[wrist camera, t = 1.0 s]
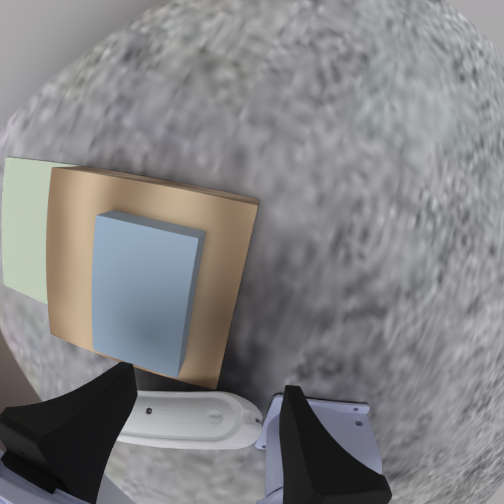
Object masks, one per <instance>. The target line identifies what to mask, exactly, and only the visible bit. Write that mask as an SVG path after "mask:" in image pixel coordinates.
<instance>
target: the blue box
mask: <svg viewBox="0 0 504 504" xmlns="http://www.w3.org/2000/svg"><path fill="white" fill-rule="evenodd" d="M205 235H206V231H204V230H200V229H196V228H191V227H187V226H182V225H178V224H173V223H169V222H164V221H160V220H155V219H151V218H146V217H142V216H137V215H133V214H128V213H124V212H119V211H114V210H111V211H108V212H104V213H101V214H98V215H96V220H95V231H94V244H93V261H92V337H93V350H95V351H98V352H100V353H103V354H105V355H108V356H111V357H114V358H116V359H119V360H122V361H125V362H128V363H131V364H134V365H137V366H140V367H143V368H146V369H149V370H153V371H156V372H159V373H162V374H166V375H169V376H173V377H176V378H178V375H179V373H180V370H181V368H182V365H183V363H184V361H185V355H186V348H187V341H188V334H189V327H190V321H191V315H192V308H193V302H194V296H195V290H196V284H197V279H198V273H199V267H200V262H201V256H202V251H203V245H204V240H205Z"/></svg>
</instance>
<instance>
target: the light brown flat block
mask: <svg viewBox="0 0 504 504" xmlns="http://www.w3.org/2000/svg"><path fill="white" fill-rule="evenodd" d="M258 204H259V199H255V198H250V197H246V196H241V195H237V194H232V193H228V192H223V191H218V190H214V189H209V188H204V187H199V186H194V185H189V184H184V183H179V182H174V181H168V180H163V179H158V178H152V177H147V176H141V175H135V174H129V173H123V172H117V171H111V170H105V169H98V168H92V167H85V166H70V167H52V170H51V178H50V186H49V196H48V209H47V226H46V283H47V301H48V313H49V323H50V332H51V334H52V335H54V336H56V337H59V338H61V339H63V340H65V341H68V342H70V343H72V344H75V345H77V346H80V347H82V348H84V349H87V350H89V351H92V352H94V353H97V354H100V355H102V356H105V357H108V358H110V359H113V360H116V361H119V362H122V360H119V359H116V358H114V357H111V356H108V355H105V354H103V353H100V352H98V351H95V350H93V337H92V261H93V244H94V231H95V220H96V215H98V214H101V213H104V212H108V211H111V210H114V211H119V212H124V213H128V214H133V215H137V216H142V217H146V218H151V219H155V220H160V221H164V222H169V223H173V224H178V225H182V226H187V227H191V228H196V229H200V230H204V231H206V235H205V240H204V245H203V251H202V256H201V262H200V267H199V273H198V279H197V284H196V290H195V296H194V302H193V308H192V315H191V321H190V327H189V334H188V341H187V348H186V355H185V361H184V363H183V365H182V368H181V370H180V373H179V375H178V378H176V377H173V376H169V375H166V374H162V373H159V372H156V371H153V370H149V369H146V368H143V367H140V366H137V365H134V364H133V367H136V368H139V369H142V370H145V371H149V372H152V373H155V374H158V375H162V376H165V377H168V378H172V379H176V380H179V381H183V382H187V383H190V384H194V385H198V386H202V387H206V388H211V389H215V390H216V388H217V383H218V379H219V375H220V370H221V366H222V361H223V357H224V353H225V348H226V344H227V339H228V335H229V330H230V326H231V322H232V317H233V313H234V309H235V304H236V300H237V295H238V291H239V287H240V282H241V278H242V274H243V269H244V265H245V260H246V256H247V252H248V247H249V243H250V239H251V234H252V230H253V226H254V221H255V217H256V213H257V209H258ZM123 362H125V361H123ZM127 363H128V362H127Z"/></svg>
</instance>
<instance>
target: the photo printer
mask: <svg viewBox="0 0 504 504" xmlns="http://www.w3.org/2000/svg"><path fill="white" fill-rule="evenodd" d="M137 392H138V396H137V399H136V402H135V404H134V407H133V410H132V412H131V414H130V416H129V418H128V419H127V421H126V423H125V425H124V427H123V429H122V431H121V432H120V434H119V436H118V438H117V441H122V442H126V443H132V444H139V445H146V446H153V447H163V448H178V449H240V448H244V447H247V446H249V445H251V444H253V443H254V442H255V441H256V440H257V439H258V438H259V437H260V435H261V433H262V431H263V427H262V425H261V424H260V422H261V421H262V418H263V417H262V414H261V412H260V411H259V409H258V408H257V407H256V406H255V405H254V404H252V403H251V402H250V401H248V400H246V399H244V398H242V397H240V396H238V395H236V394H233V393H228V392H220V391H211V392H166V391H142V390H137Z"/></svg>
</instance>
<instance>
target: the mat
mask: <svg viewBox="0 0 504 504" xmlns="http://www.w3.org/2000/svg"><path fill="white" fill-rule="evenodd" d="M70 166H78V165H71V164H64V163H56V162H48V161H40V160H31V159H22V158H13V157H6V161H5V170H4V180H3V193H2V216H1V241H2V264H3V277H4V285H6V286H8V287H10V288H12V289H14V290H16V291H18V292H20V293H23V294H25V295H27V296H29V297H31V298H34V299H36V300H38V301H40V302H43V303H45V304H47V305H48V301H47V283H46V226H47V209H48V196H49V186H50V178H51V170H52V167H70Z"/></svg>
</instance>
